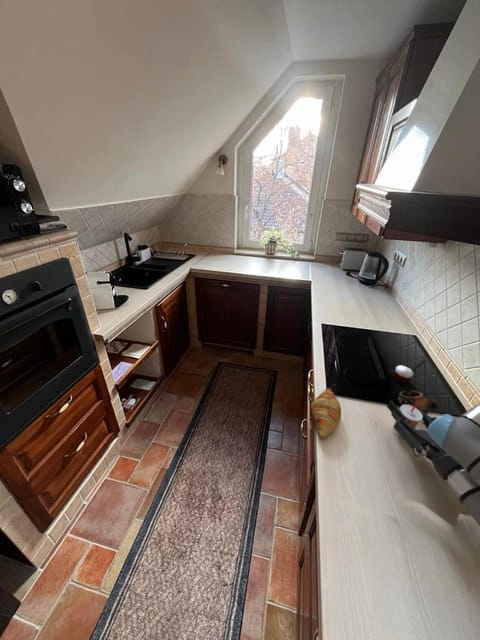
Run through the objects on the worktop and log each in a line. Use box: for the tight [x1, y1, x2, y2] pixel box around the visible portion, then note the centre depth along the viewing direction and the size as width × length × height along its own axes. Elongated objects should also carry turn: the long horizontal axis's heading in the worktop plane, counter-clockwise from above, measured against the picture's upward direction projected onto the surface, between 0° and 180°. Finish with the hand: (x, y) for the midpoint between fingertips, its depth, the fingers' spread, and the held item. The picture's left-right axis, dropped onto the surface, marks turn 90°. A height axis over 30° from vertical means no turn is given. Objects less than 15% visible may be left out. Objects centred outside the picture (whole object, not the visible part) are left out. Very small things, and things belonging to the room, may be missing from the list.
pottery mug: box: [397, 390, 439, 416], centre depth 91 cm, size 12×10×8 cm
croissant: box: [310, 387, 342, 439], centre depth 88 cm, size 21×10×8 cm, turn 159°
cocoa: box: [390, 357, 428, 383], centre depth 102 cm, size 10×6×12 cm, turn 54°
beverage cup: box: [392, 401, 423, 436], centre depth 79 cm, size 6×6×14 cm
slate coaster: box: [416, 429, 432, 450], centre depth 81 cm, size 9×9×1 cm
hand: (398, 402), depth 83 cm, fingers closed on beverage cup, 6 cm apart
